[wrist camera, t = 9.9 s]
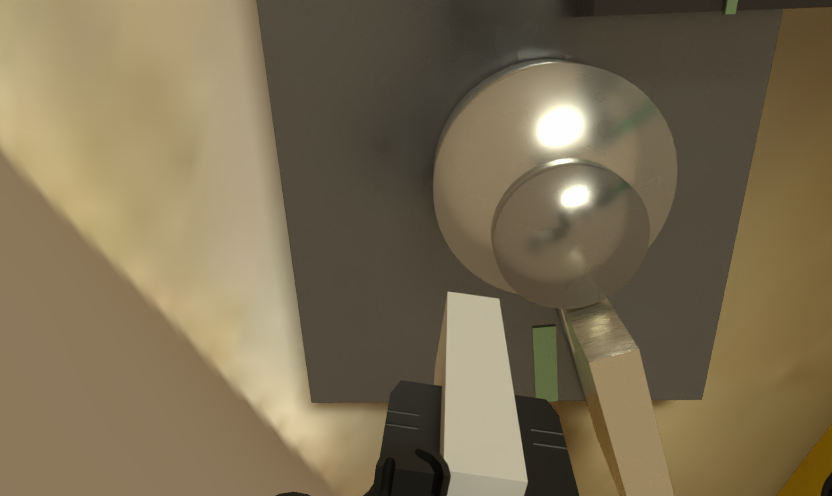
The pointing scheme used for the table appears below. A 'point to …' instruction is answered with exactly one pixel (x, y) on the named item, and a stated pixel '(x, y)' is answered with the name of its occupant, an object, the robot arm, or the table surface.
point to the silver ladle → (567, 224)
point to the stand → (414, 159)
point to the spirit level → (813, 471)
